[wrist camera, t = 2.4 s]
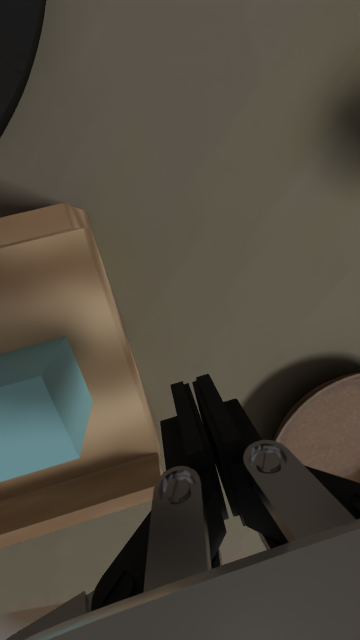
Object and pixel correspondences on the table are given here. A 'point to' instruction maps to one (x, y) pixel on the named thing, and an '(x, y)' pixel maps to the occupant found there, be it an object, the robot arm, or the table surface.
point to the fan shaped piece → (17, 50)
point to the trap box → (95, 365)
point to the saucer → (326, 428)
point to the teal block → (41, 408)
